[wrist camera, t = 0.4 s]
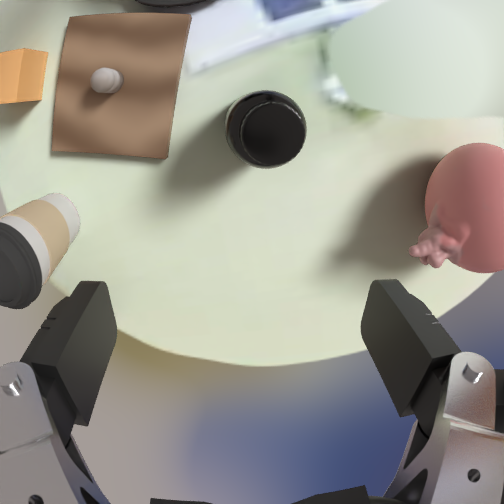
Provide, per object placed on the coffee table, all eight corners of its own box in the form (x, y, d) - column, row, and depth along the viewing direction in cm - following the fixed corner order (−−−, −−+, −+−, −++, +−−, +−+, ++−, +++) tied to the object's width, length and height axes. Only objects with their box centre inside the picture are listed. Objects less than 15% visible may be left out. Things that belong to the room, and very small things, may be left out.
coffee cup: (73, 174, 33) (1, 220, 20) (98, 242, 37) (46, 313, 24) (21, 197, 33) (-50, 246, 20) (46, 257, 37) (-10, 323, 24)
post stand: (75, 19, 25) (53, 9, 20) (191, 18, 27) (185, 3, 22) (57, 148, 31) (33, 157, 26) (167, 156, 33) (157, 166, 28)
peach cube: (12, 57, 25) (-14, 55, 20) (48, 52, 26) (23, 48, 21) (6, 102, 28) (-20, 106, 23) (41, 100, 28) (16, 102, 24)
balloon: (360, 157, 35) (434, 195, 21) (479, 124, 33) (562, 149, 20) (381, 265, 42) (437, 337, 28) (486, 221, 40) (552, 268, 26)
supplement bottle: (223, 152, 34) (221, 176, 23) (227, 91, 31) (227, 83, 20) (285, 156, 34) (313, 182, 24) (291, 96, 32) (323, 93, 21)
